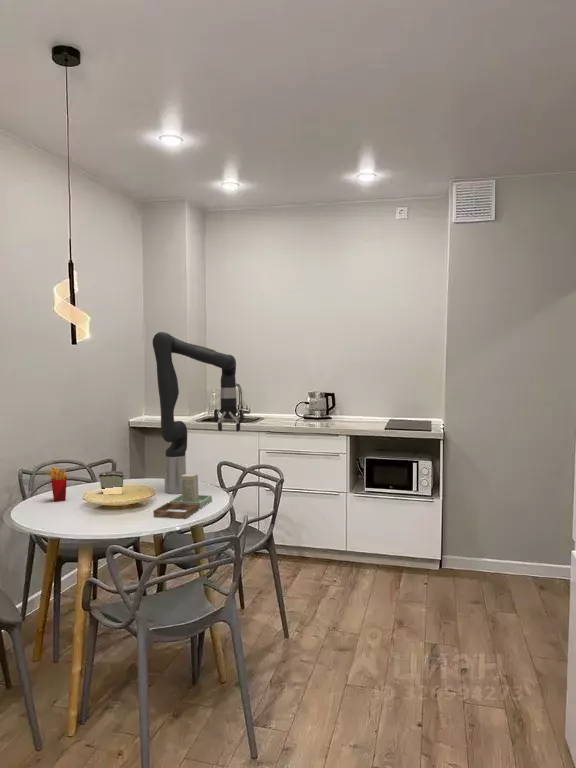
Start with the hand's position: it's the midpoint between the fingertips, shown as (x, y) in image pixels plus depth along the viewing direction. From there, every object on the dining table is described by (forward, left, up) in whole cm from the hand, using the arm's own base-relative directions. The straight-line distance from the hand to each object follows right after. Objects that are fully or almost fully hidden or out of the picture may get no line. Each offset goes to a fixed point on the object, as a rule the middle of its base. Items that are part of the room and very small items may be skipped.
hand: (229, 431), depth 284 cm
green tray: (-8, -28, -28) cm, 40 cm away
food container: (-52, -16, -28) cm, 61 cm away
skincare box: (-8, -28, -28) cm, 40 cm away
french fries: (-70, -34, -28) cm, 83 cm away
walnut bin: (-8, -43, -28) cm, 52 cm away
